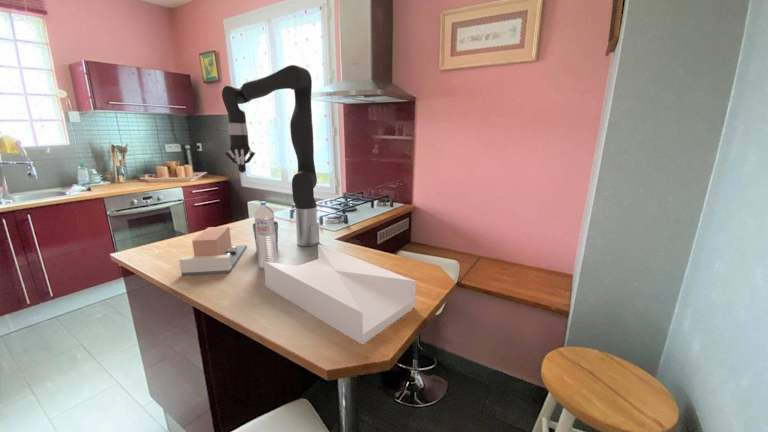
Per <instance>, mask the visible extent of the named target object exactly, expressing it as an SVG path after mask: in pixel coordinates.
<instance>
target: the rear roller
mask: <svg viewBox="0 0 768 432" xmlns="http://www.w3.org/2000/svg"><path fill="white" fill-rule="evenodd" d="M235 246H236V245H231V246H230V247H229V249H228V250H227V251H226V252H225V253H229V254H230V253H236V252H237V247H235Z"/></svg>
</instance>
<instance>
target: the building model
mask: <svg viewBox="0 0 768 432" xmlns="http://www.w3.org/2000/svg"><path fill="white" fill-rule="evenodd" d="M317 251H318V252H317V253H318V254H317V255H318V258H317V259H314V260H311V261H308V262H306V263H302V264H299V265H295V264H294V265H293V264H286V263H279V262H277V263H272V262H264V281H265V287H267V288H268V289H269V290H272V291H273V292H275V293H277V294H278V295H279V296H281V297H283V299H284V298H285V299H286V300H288V301H289V302H291V303H292V304H294V305H296V306H298V307H299V308H301V309H302V310H304V311H306V312H307V313H309V314H310V315H312V316H314V317H315V318H317V319H319V320H321V321H323V323H325V324H327V325H328V326H331V327H332V328H333V329H335V330H337V331H338V332H339V333H342V334H344V335H345V336H346V337H348V336H349V337H348V338H350V339H352V340H353V339H354V340H353V341H355V340H356V341H357V343H358V342H359V343H358V344H360V343H361V344H364V343H365V342H367V341H368V340H369V341H371V340H372V339H373V338H372V337H374V336H375V335H376V334H378V333H379V332H380V331H382V330H383V329H384V328H386V327H387V326H389V325H390V324H392V323H393V322H394V321H395V320H397V319H398V318H400V317H401V316H402V315H404V314H405V313H406V312H408V311H409V310H410V309H412V308H413V307H415V306H416V285H417V283H416V282H417V281H416V280H415V279H412V278H409V277H406V276H405V275H401V274H399V273H397V272H396V273H395V272H393V271H391V270H388V269H386V268H383V267H380V266H377V265H374V264H372V263H370V262H367V261H364V260H361V259H359V258H356V257H354V256H351V255H348V254H345V253H343V252H341V251H337V250H336V249H335V250H334V249H332V248H329V247H327V246H324V245H322V244H319V243H317ZM392 325H393V324H392ZM389 327H390V326H389ZM386 329H387V328H386ZM382 332H383V331H382ZM379 334H380V333H379ZM379 334H378V335H379ZM375 337H376V336H375ZM375 337H374V338H375ZM371 338H372V339H371ZM370 339H371V340H370ZM356 341H355V342H356ZM369 341H368V342H369ZM368 342H367V343H368ZM361 344H360V345H361ZM365 344H366V343H365ZM365 344H364V345H365Z"/></svg>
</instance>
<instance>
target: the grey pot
mask: <svg viewBox="0 0 768 432" xmlns="http://www.w3.org/2000/svg"><path fill="white" fill-rule="evenodd" d="M274 226H275V235H276V249H277V251H278V249H279V248H278V243H279V242H278V241H279V237H278V236H279V223H278V221H275V220H274ZM252 229H253V235H254V236H253V237H254V240H255V246H256V250H257V241H256V226H255V222H254V223H253V224H252Z"/></svg>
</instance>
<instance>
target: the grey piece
mask: <svg viewBox="0 0 768 432" xmlns="http://www.w3.org/2000/svg"><path fill="white" fill-rule="evenodd" d="M234 246H235V247H237V252H236V253H230V254H231V255H232V259H231V257H230V255H214V256H194V255H193V256H182V257H180V259H179V260H178V261H179V267H180V272H181V276H194V275H210V274H212V275H213V274H229V273H231V272H232V270H233V269H234V268H235V266H236V264H237V263H238V262H239V260H240V258H241V257H242V255H243V254H244V253H245V251H246V250H247V248H248V247H247V246H248V245H247V244H244V245H243V244H242V245H240V244H239V245H234Z"/></svg>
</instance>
